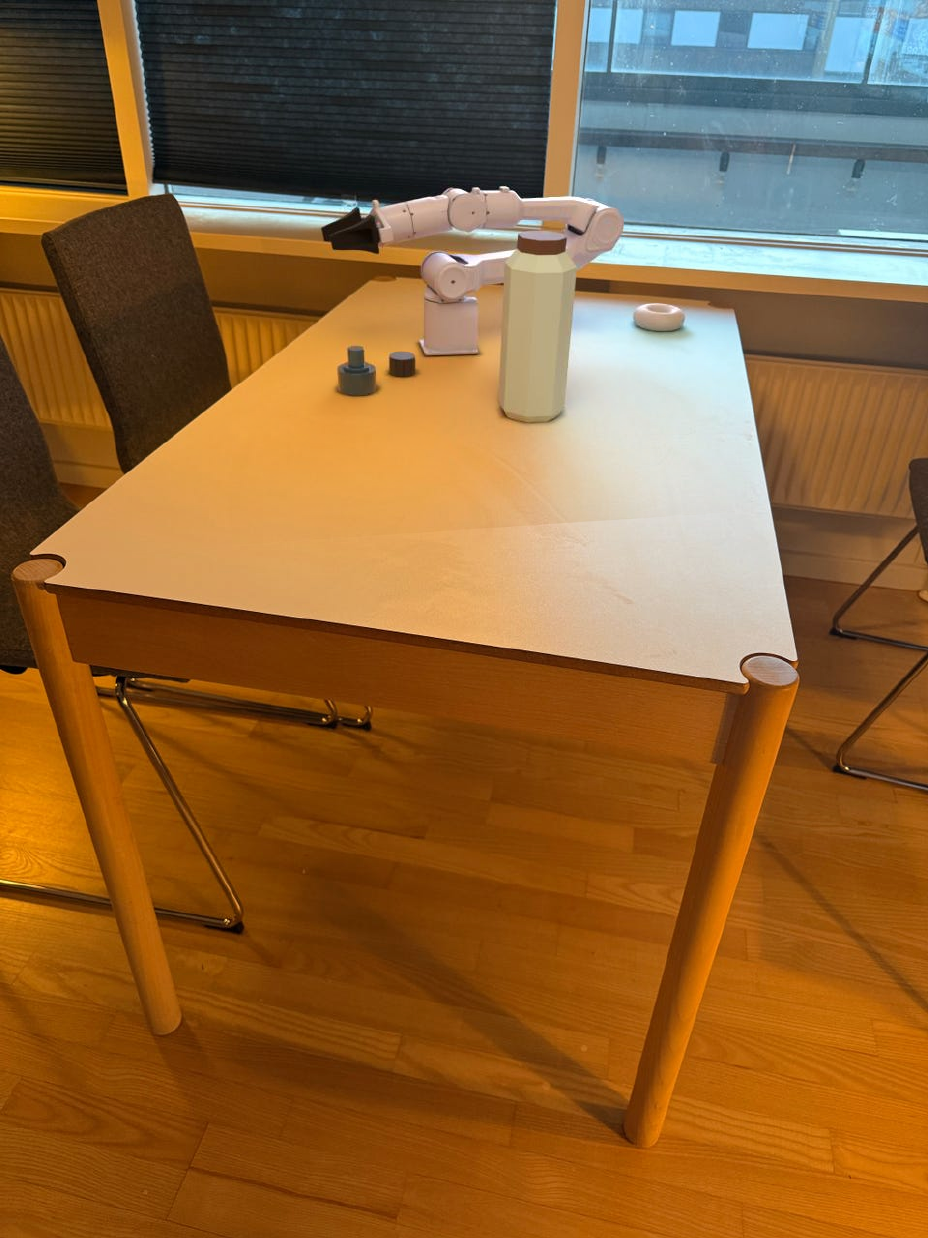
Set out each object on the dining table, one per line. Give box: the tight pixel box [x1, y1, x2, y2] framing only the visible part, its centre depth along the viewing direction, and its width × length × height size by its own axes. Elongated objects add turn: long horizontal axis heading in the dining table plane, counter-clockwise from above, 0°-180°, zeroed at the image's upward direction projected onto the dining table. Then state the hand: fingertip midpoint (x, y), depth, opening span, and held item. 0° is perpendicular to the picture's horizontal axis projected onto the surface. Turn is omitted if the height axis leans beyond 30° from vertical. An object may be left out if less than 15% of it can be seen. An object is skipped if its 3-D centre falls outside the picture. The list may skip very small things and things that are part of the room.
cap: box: [388, 351, 416, 378], centre depth 147 cm, size 4×4×3 cm
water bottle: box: [497, 230, 578, 424], centre depth 127 cm, size 10×10×25 cm
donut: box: [632, 303, 686, 332], centre depth 173 cm, size 10×4×10 cm
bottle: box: [336, 345, 377, 397], centre depth 139 cm, size 6×6×6 cm
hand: (326, 238), depth 143 cm, fingers open, 7 cm apart
